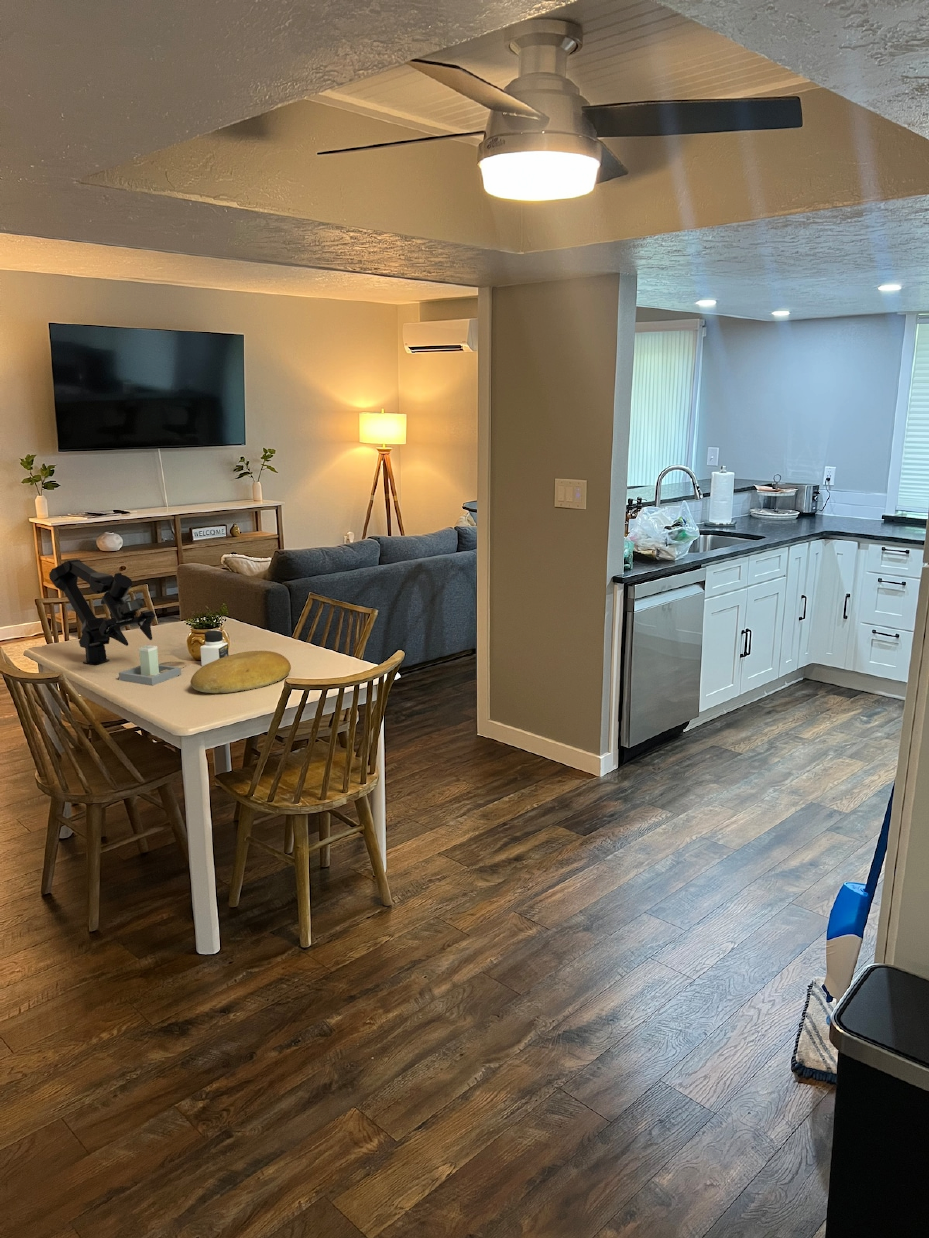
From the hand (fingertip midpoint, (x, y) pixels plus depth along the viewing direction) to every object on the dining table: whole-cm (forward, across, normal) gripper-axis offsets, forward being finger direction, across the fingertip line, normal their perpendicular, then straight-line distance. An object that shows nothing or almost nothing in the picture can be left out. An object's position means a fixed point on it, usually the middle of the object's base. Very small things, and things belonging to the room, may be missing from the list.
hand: (139, 642), depth 306 cm
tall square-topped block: (+11, 0, +5) cm, 12 cm away
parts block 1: (+15, -3, +2) cm, 15 cm away
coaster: (+7, +12, +9) cm, 17 cm away
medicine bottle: (+15, +23, +2) cm, 28 cm away
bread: (+33, +14, -16) cm, 39 cm away
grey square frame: (+11, 0, +5) cm, 12 cm away
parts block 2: (+14, +4, +3) cm, 15 cm away
